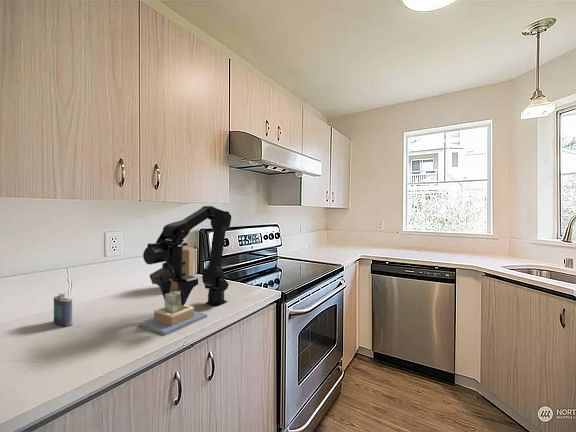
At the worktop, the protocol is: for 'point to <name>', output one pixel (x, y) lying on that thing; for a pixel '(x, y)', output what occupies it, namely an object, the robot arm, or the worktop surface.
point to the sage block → (173, 302)
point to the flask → (62, 311)
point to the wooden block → (186, 265)
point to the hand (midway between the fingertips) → (174, 302)
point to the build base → (170, 328)
